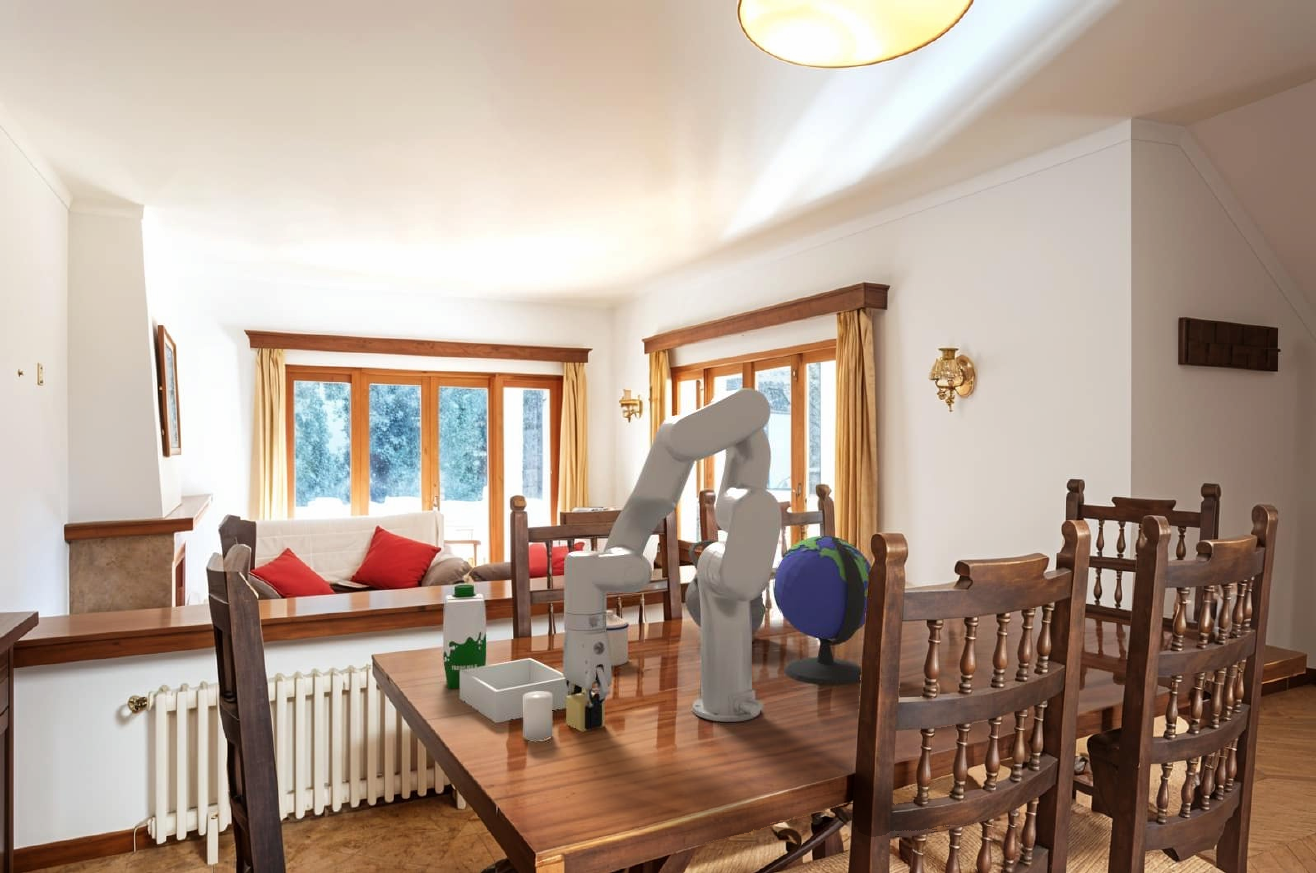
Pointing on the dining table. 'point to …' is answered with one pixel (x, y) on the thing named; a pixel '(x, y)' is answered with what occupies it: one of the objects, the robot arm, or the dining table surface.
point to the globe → (823, 603)
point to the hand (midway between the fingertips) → (585, 722)
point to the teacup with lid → (617, 638)
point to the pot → (694, 596)
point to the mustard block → (579, 711)
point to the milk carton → (463, 633)
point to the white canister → (537, 715)
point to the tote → (510, 687)
